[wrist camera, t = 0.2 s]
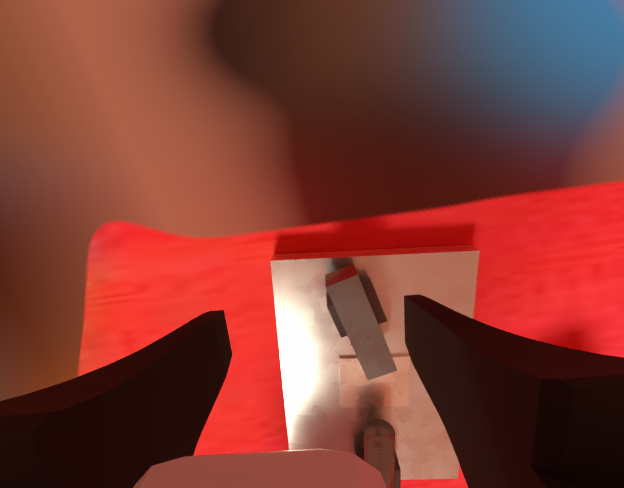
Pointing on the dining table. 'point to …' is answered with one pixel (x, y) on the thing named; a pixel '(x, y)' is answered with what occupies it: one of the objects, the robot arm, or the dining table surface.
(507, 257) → the dining table surface
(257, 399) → the dining table surface
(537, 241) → the dining table surface
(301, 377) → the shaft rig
